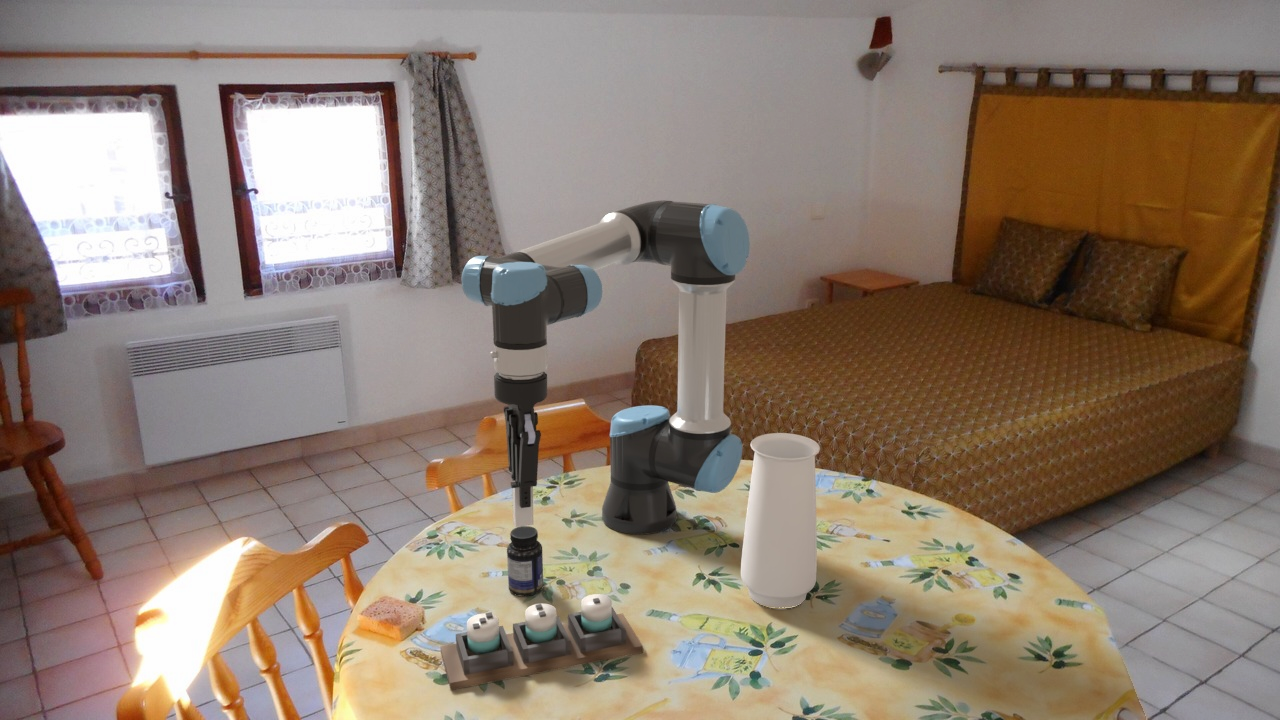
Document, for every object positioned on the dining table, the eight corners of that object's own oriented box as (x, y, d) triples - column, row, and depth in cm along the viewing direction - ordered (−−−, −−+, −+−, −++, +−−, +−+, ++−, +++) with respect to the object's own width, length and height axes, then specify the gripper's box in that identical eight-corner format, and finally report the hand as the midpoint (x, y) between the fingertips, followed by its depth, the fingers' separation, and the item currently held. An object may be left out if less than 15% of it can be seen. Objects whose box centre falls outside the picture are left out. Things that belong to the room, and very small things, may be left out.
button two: (552, 623, 156) (551, 599, 154) (560, 639, 151) (559, 614, 150) (522, 629, 154) (522, 604, 153) (529, 645, 150) (528, 620, 148)
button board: (622, 619, 163) (622, 599, 162) (642, 652, 154) (642, 631, 153) (440, 652, 153) (439, 632, 152) (450, 690, 144) (449, 668, 143)
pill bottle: (529, 576, 177) (527, 520, 173) (550, 588, 172) (549, 532, 169) (501, 588, 172) (499, 531, 169) (522, 601, 168) (520, 543, 165)
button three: (496, 633, 153) (495, 608, 152) (502, 650, 148) (501, 625, 147) (465, 639, 151) (464, 614, 150) (470, 656, 147) (469, 630, 146)
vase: (743, 572, 178) (749, 428, 170) (816, 580, 176) (825, 434, 167) (735, 610, 166) (741, 456, 158) (813, 618, 163) (823, 463, 155)
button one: (606, 613, 158) (606, 589, 157) (615, 629, 154) (615, 604, 153) (578, 619, 157) (577, 594, 156) (586, 634, 153) (586, 610, 151)
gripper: (485, 362, 144) (489, 509, 151) (504, 387, 132) (508, 546, 139) (535, 358, 147) (537, 503, 153) (558, 383, 135) (559, 539, 141)
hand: (523, 523), depth 146 cm, fingers closed
